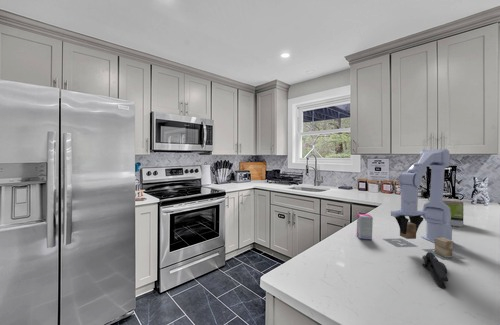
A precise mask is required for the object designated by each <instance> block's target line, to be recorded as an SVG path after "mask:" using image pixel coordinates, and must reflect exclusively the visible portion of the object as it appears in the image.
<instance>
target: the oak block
mask: <svg viewBox="0 0 500 325" xmlns="http://www.w3.org/2000/svg"><path fill="white" fill-rule="evenodd" d="M453 243H454V240H452V241H451V240H448V239H445V238H435V243H434V249H435V253H437V254H440V255H442V256H452V253H453V245H454V244H453Z"/></svg>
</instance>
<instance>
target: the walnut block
mask: <svg viewBox="0 0 500 325" xmlns="http://www.w3.org/2000/svg"><path fill="white" fill-rule="evenodd" d="M399 236H400V237H402V238H403V239H406V240H416V239H417V233H416V224H414V223H411V222H410V221H408V223H407V230H406V234H403V233H401V231H400V230H399Z"/></svg>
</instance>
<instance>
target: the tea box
mask: <svg viewBox="0 0 500 325" xmlns="http://www.w3.org/2000/svg"><path fill="white" fill-rule="evenodd" d="M429 201H430V197H428V202H429ZM443 202H444V203H445V204H446V205H448V206H449V207H450V212H451V220H450V222H449V224H450V225H451V227H453V226H454V227H461V228H463V227H464V201H463V200H460V199H458V198H457V199H456V198H444V197H443ZM432 208H435V207H432ZM438 209H441V208H438Z"/></svg>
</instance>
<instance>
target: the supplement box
mask: <svg viewBox="0 0 500 325" xmlns="http://www.w3.org/2000/svg"><path fill="white" fill-rule="evenodd" d="M356 214H357V215H356V216H357V218H356V219H357V220H356V237H357V239H359V240H361V241H363V240H364V241H372V240H373V224H374V222H373V220H374V218H373V217H374V216H372V215H371V214H368V213H367V214H366V213H356Z"/></svg>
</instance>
